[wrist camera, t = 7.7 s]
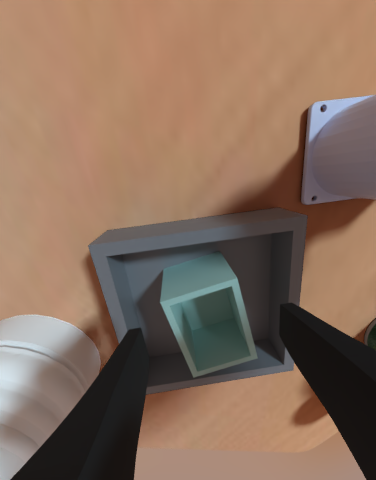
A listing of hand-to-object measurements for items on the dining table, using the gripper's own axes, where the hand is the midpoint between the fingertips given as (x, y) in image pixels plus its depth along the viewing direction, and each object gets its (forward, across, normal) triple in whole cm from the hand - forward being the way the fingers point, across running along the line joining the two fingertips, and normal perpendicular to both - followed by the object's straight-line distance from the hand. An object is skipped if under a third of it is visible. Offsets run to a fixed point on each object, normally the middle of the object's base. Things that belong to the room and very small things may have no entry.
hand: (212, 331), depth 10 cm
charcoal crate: (+9, 0, +4) cm, 10 cm away
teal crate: (+8, 0, +4) cm, 9 cm away
